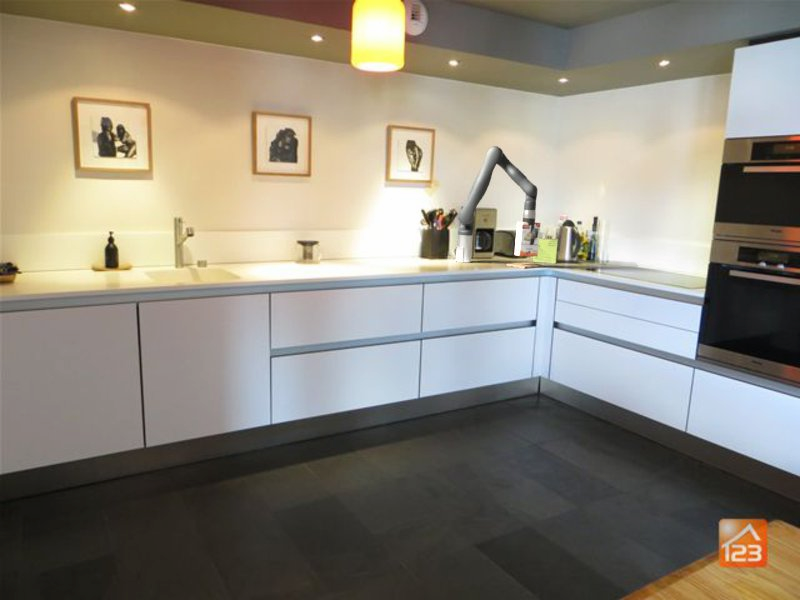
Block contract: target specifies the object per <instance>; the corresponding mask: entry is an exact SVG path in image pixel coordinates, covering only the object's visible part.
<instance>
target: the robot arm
mask: <svg viewBox="0 0 800 600" xmlns="http://www.w3.org/2000/svg"><path fill="white" fill-rule="evenodd" d="M496 165H497V166H499V167H500V168H501V169H502V170H503V171H504V172H505V173H506V174H507V175H508V177H510V179H511V181H513V182H514V183H515V184H516V185H517V186H518V187H520V189H521V190H522V191H523V193H525V201H524V204H523V206H524V207H523V213H522V222H526V223H528V225H531V232H532V231H534V234H531V232H530V237H531V242H530V245H533V244H534V239H535V238H537V237H538V230H539V229H538V228H534V225H535V223H536V212H537V211H536V209H537V208H536V207H537V198H538V197H537V196H538V192H539V191H538V187H537V186H536V185H535V184H534V183H533V182H531V181H530V180H529V179H528V177H527V176H526V175H525V174H524V172H522V171H521V170H520V169H519V168H518V167H516V165H514V164H513V163H512V161H510V160H509V159H508V157H507V156H506V154H505V153H504V151H503V149H502V148H501V147H499V146H495V145H494V146H491V147H489V148H488V150H487V153H486V155H485V159H484V161H483V163H482V166H481V168H480V170H479V172H478V174H477V175H476V177H475V180H474V182H473V183H472V186H471V189H470V190H469V193H468V196H467V199H466V202H465V203H464V204H463V206H462V208H461V210H460V212H459V213H458V221H459V227H458V233H457V246H456V247H455V248H456V249H455V262H456V261H457V262H458V263H471V262H472V253H473V252H472V250H473V235H474V228H475V211H476V209H477V206H478V205H479V204H480V202H481V201H482V200H483V197H484V196H485V194H486V192H487V191H488V188H489V186H490V183H491V181H492V180H491V179H492V176H493V173H494V170H495V168H496ZM532 235H533V236H532ZM457 262H456V263H457Z"/></svg>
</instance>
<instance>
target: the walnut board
mask: <svg viewBox="0 0 800 600" xmlns="http://www.w3.org/2000/svg"><path fill="white" fill-rule="evenodd" d="M505 265H507V266H506V267H511V266H513V268H517V267H518V268H520V269H534V268H536V269H537V268H545V264H541V263H540V264H539V263H534V262H515V263H506V264H505Z"/></svg>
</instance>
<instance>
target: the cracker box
mask: <svg viewBox="0 0 800 600" xmlns="http://www.w3.org/2000/svg"><path fill="white" fill-rule="evenodd" d="M534 228H538V229H539V230H538V237H537V238H535V239H534V244H533V245H530V242H531V237H530V232H531V225H528V223H526V222H523V221H517V223H516V231H515V232H516V234H515V243H514V244H515V245H514V254H513V255H514V256H516V257H533V256H537V255H538V245H539V238H540V233H541V232H540V231H541V222H535V225H534ZM531 234H534V231H532V232H531ZM532 236H533V235H532Z"/></svg>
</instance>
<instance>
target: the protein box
mask: <svg viewBox="0 0 800 600" xmlns="http://www.w3.org/2000/svg"><path fill="white" fill-rule="evenodd" d="M558 249H559V239H556V238H555V239H554V238H542V237H541V238H540V237H539V245H538V255H537V256H532V263H534V262H535V263H544V262H548V263H547V264H556V263H557V260H558Z"/></svg>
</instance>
